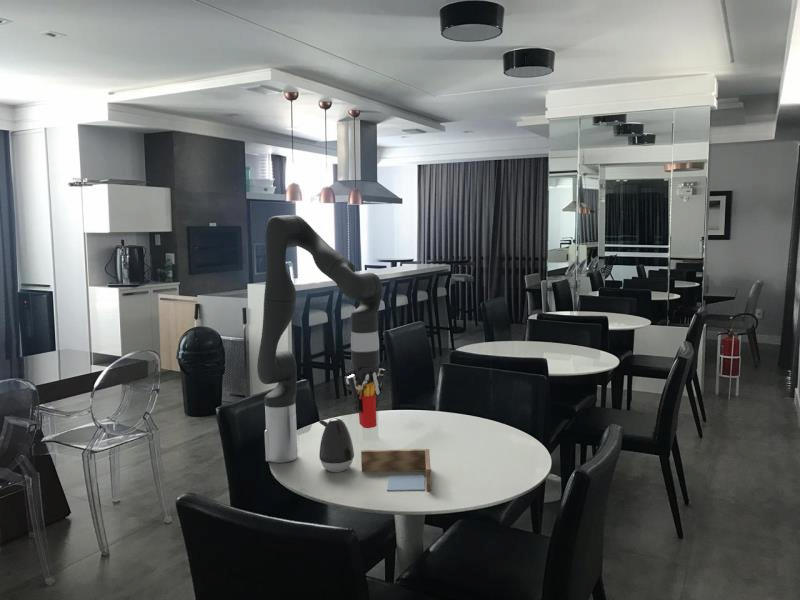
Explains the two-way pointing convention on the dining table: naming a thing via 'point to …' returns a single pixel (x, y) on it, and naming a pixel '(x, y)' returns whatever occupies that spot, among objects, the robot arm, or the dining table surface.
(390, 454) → the wooden corner bracket
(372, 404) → the french fries
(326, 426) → the pump dispenser
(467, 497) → the dining table surface
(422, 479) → the mat
